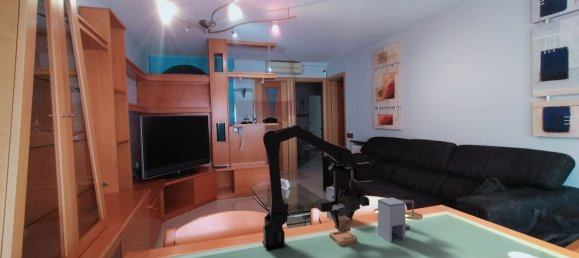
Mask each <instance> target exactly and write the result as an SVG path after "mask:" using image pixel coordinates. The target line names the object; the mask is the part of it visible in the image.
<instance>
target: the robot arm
mask: <svg viewBox="0 0 579 258" xmlns="http://www.w3.org/2000/svg"><path fill="white" fill-rule="evenodd" d="M294 138H297V139H299V140H302V142H305V143H307V144H308V145H310V146H312V147H315V148H316V149H319V150H321V151H322V152H323V153H325V154H326V155H327V156H329V158H331V159H333V161H335V162H337V163H338V164H335V163H334V162H332V163H331V164H330V165H329V166H328V167H327V169H328V170H329V171H330V172H333V183H332V185H331V186H332V187H333V188H334V196H332V198H333V199H334V201H329V200H327V197H326V198H319V199H316V200H315V202H314V208H316V209H317V210H318V211H320V212H321V213H327V212H330V214H331V216H332V218H333V220H332V221H333V223H334V227H335V226H336V227H337V228H338V226H339V219H338V214H339V212H340V211H339V210H338V209H337V206H340V205H344V207H345V210H346V217H348V218H349V219H351V221H352V219H353V217H354V215H355V212H357V211H358V210H360V209H361V207H369V206H370V199H369V196H366V194H364V193H363V192H360V193H355V192H354V187H353V186H351V181H352V180H353V181H354V182H355V183H365V182H367V183H368V182H370V183H371V182H372V181H373V180H374V172H373V168H372V165H371V162H369V161H365V162H356V160H355V159H354V158H353V152H352V151H351V150H350V149H349V148H347V147H344V146H342V145H339V144H336V143H332V142H330V141H326V140H325V139H323V138H321V137H319V136H317V135H316V134H314V133H313V132H310V131H308V130H306V129H304V128H302V127H301V126H300V125H297V124H292V125H291V126H287V127H283V128H280V129H277V130H275V129H268V130H266V131H265V132H264V133H263V135H262V141H263V145H264V148H265V151H266V156H267V161H268V172H269V181H270V184H269V185H270V192H271V193H270V195H271V198H270V207H269V212H268V213H267V214H266V215H265V216H264V218H263V221H264V222H263V223H264V224H263V225H264V226H263V229H262V230H263V233H262V235H263V240H262V245H263V247H264V248H265V251H271V250H275V249H283V248H285V247H286V245H285V242H286V241H285V239H286V238H285V234H286V233H285V230H284V227H283V226H284V225H285V224H286V223H287V222H288V220H289V218H288V217H290V216H291V215H290V211H289V202H288V199H287V198H283V189H282V179H281V178H282V177H281V169H280V149H281V143H284V142H286V141H288V140H291V139H294ZM345 165H347V166H345Z"/></svg>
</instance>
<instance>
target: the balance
mask: <svg viewBox="0 0 579 258" xmlns="http://www.w3.org/2000/svg"><path fill="white" fill-rule="evenodd" d="M399 200H400V201H402V202H405V204H411V205H412V206H411V207H412V210H411V211H405V219H409V220H414V221H415V220H416V221H417V220H423V217H424V216H423V214H422V213H420V212H416V211H414V207H415V206H414V205H415V201H414V200H410V199H409V200H408V199H407V200H405V199H399ZM373 213H375V214H377V215H378V207H377V208H374V209H373ZM406 230H411V226H410V225H409V224H407V223H405V231H406Z"/></svg>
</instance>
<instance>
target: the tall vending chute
mask: <svg viewBox="0 0 579 258" xmlns="http://www.w3.org/2000/svg"><path fill="white" fill-rule="evenodd" d="M325 189H326V190H325V191H326V199H327V200H329V201H334V199H333V198H332V196H334V188H333V187H332V185H331V186H326V188H325ZM337 209H338V210H339V211H340V212H339V214H338V216H346V210H345V207H344V205H340V206H337ZM326 218H328V219H330V220H332V221H333V218H332V216H331V214H330V212H326Z"/></svg>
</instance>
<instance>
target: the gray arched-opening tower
mask: <svg viewBox="0 0 579 258" xmlns="http://www.w3.org/2000/svg"><path fill="white" fill-rule="evenodd" d="M400 200H401V199H397V198H396V197H388V198H387V197H385V198H379V199H377V208H378V214H377V236H379V237H381V238H383V239H384V240H386V241H387V242H388V243H393V234H394V235H396V236H398V237H400V238H401V239H402V240H406V230H405V224H406V217H405V212H406V203H405V202H402V201H400Z"/></svg>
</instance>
